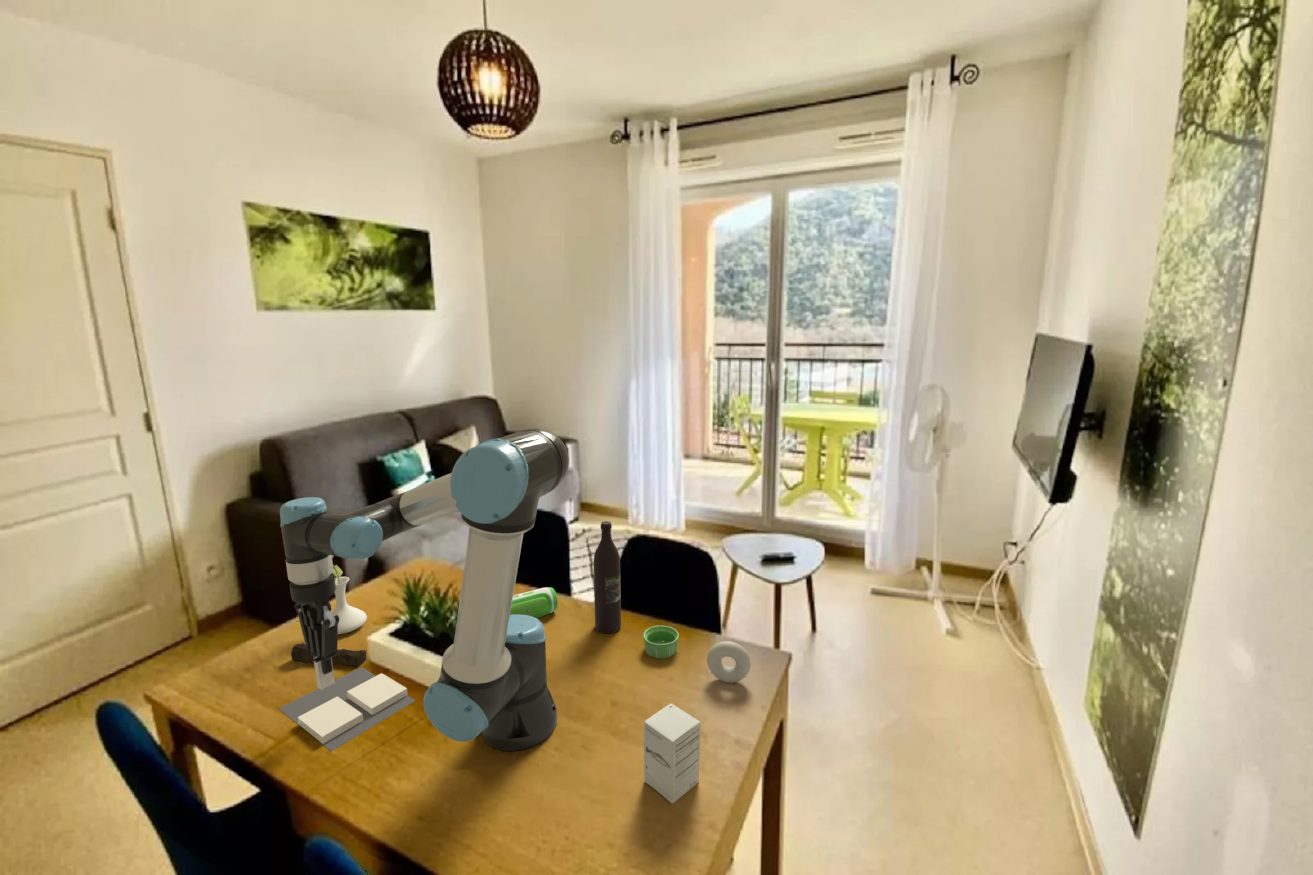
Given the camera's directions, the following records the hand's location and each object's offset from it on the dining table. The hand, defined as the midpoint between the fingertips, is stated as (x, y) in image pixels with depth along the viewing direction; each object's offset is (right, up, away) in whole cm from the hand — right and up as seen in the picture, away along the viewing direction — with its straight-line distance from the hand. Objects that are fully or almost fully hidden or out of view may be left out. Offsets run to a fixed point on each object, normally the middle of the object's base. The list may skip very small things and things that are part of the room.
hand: (326, 685), depth 115 cm
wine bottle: (+54, -2, +39) cm, 67 cm away
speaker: (+30, -1, +44) cm, 54 cm away
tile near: (-4, -7, +4) cm, 9 cm away
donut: (+84, -6, +16) cm, 85 cm away
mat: (0, -8, +7) cm, 11 cm away
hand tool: (-13, -5, +23) cm, 27 cm away
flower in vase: (-18, -2, +39) cm, 43 cm away
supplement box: (+70, -12, -13) cm, 72 cm away
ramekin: (+68, -4, +29) cm, 74 cm away
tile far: (+1, -6, +12) cm, 14 cm away
